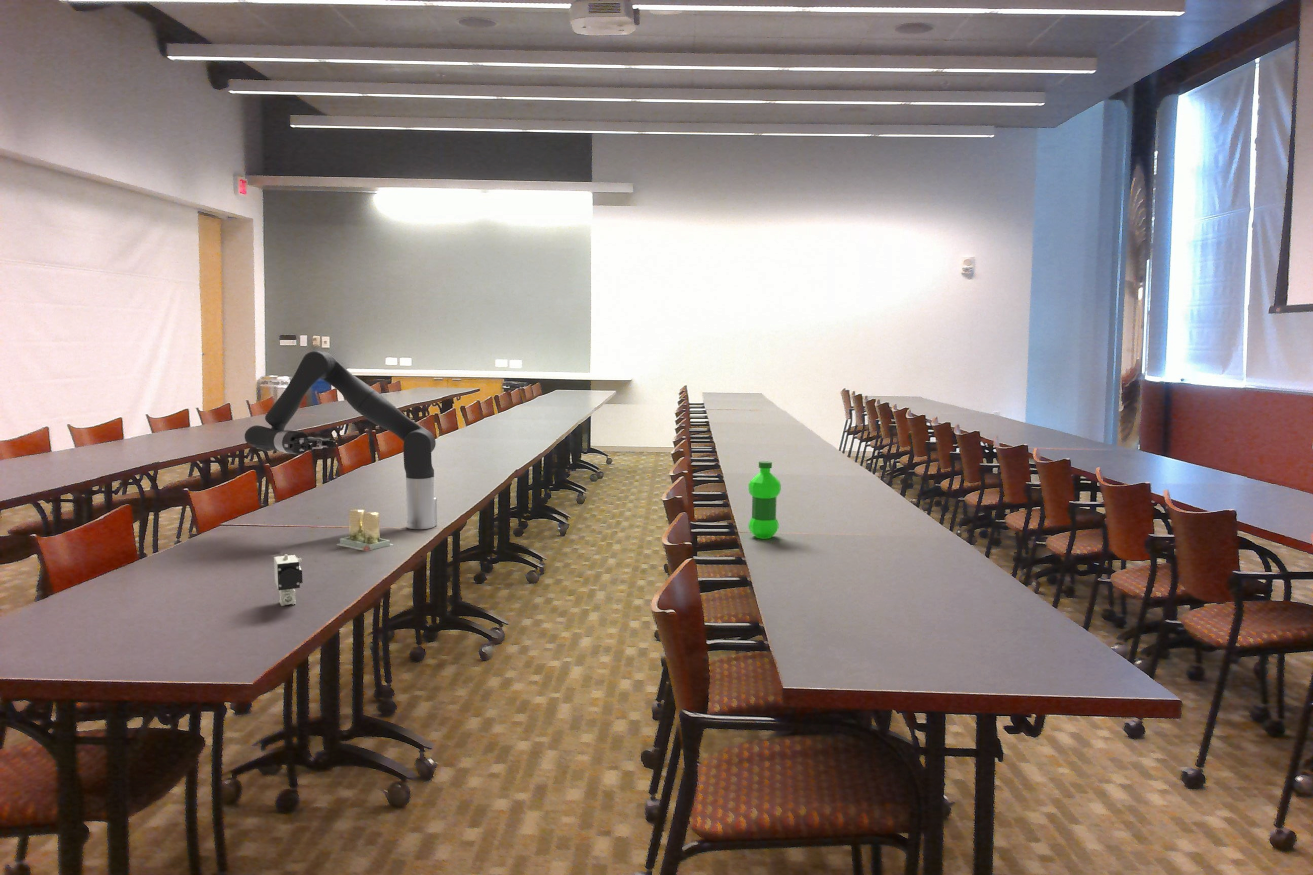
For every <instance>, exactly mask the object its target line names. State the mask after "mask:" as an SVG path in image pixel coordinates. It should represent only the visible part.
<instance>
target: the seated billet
mask: <svg viewBox="0 0 1313 875" xmlns="http://www.w3.org/2000/svg"><path fill="white" fill-rule="evenodd" d="M363 521H364V543H366V544H374V543H378V542H380V538H381V537H380V534H381V533H380V531H381V530H380V512H379V511H365V513H363Z"/></svg>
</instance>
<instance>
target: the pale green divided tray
mask: <svg viewBox="0 0 1313 875" xmlns="http://www.w3.org/2000/svg"><path fill="white" fill-rule="evenodd" d="M336 545H337V546H341V547H347V548H351V549H355V550H360V551H363V552H364V551H365V552H368V551H372V550H377V549H380V548H386V547H389V546H393V545H394V543H391V540H390V539H385V538H381V537H380V542H378V543H374V544H366V543H364V540H360V541H352V540H350V536H345V537H341V538H339V543H337V544H336Z"/></svg>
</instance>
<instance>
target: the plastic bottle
mask: <svg viewBox="0 0 1313 875" xmlns="http://www.w3.org/2000/svg"><path fill="white" fill-rule="evenodd" d="M772 467H773V462H772V461H768V460H767V461H764V460H763V461H758V469H760V471H759V473H757V474H756V475H755V476H754V477H753V478H752V479H751V480H750V481H749V484H748V491H749V492H748V493H749V494H750V495H751V497H752V499H751V500H752V501H751V505H752V506H751V518H750V521H749V523H748V529H749V531H750V533H751V534H752V535H753V536H754V537H755V538H757V539H761V540H762V539H763V540H768V539H771V538H772V537H774V536H775V534H776V533H777V532H778V530H779V528H780V527H779V526H780V525H779V521H778V519H777V499H778V496H779V495H780V493H781V488H782V487H781V486H782V485H781V482H780V480H779V479H778V478H777V477H776V476H775V475H774V474H772V473H771V469H772Z"/></svg>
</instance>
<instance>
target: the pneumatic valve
mask: <svg viewBox="0 0 1313 875" xmlns="http://www.w3.org/2000/svg"><path fill="white" fill-rule="evenodd" d="M300 563H302V558H301V557H297V556H296V555H295V553H293V554H282V555H275V556H273V571H274V574H273V576H274V583H275V585H276V588H277V590H278V592H279V601H278V602H279V604H280V606H281V607H284V606H288V605H293V606H294V604H295V605H296V604H297V601H296V594H297V592H296V589H300V588H301V586H300V585H301V584H303V569H302V568H301V566H300Z"/></svg>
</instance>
